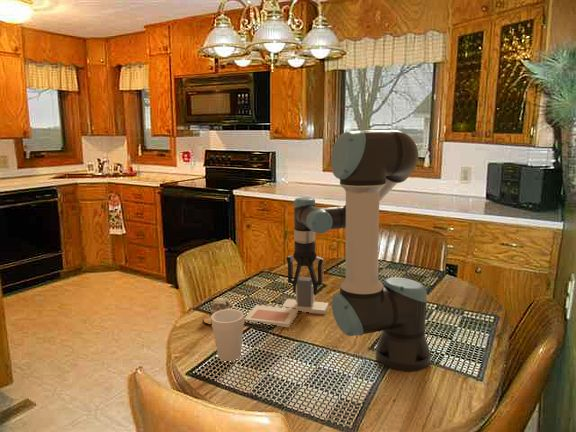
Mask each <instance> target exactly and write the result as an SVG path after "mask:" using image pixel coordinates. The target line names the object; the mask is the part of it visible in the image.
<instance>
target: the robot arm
mask: <svg viewBox="0 0 576 432" xmlns="http://www.w3.org/2000/svg"><path fill="white" fill-rule="evenodd" d="M330 156H331V157H330V168H331V169H332V170H331V172H332V174H333V176H334V177H335V178H336V179H339V185H340V187H341V188H342V189H344V191H345V204H344V205H340V206H330V207H329V206H326V207H316V206H317V205H316V200H315V198H313V197H311V196H309V197H307V196H303V197H302V196H301V197H297V198H295V199H294V201H293V223H294V224H293V226H294V227H293V228H294V229H293V231H294V233H293V234H294V235H293V237H294V238H293V239H294V253H293V254H292V255H290V254H289V255H288V256H287V257H286V262H287V282H288V283H289V284H292V292H293V294H295V300H296V302H297V280H298V278H299V277H300V273H301V270H302V267H306V268H307V269H308V271H309V275H310V276H309V277H311V279H312V283H313V285H312V286H311V304H313V303H314V302H316V298H315V297H316V296H317V294H318V286H321V285H322V284H323V279H324V278H323V263H324V261H325V258H324V257H319V256H318V255H317V254H316V241H315V240H316V233H317V234H320V235H321V234H326V233H327V232H329V231H330V230H338V229H345V278H344V279H343V280H342V281H341V282H340V284H339V292H336V293H335V294H333V295H332V298H331V311H332V315H333V317H334V320H335V323H336V324H337V327H338V328H339V330H340V332H341V333H343V334H344V335H346V336H347V337H356V336H361V337H362V336H363V335H368V334H373V333H377V332H381V334H380V337H379V338H378V342H377V344H376V347H375V357H376V359H377V361H378V362H379V363H380V364H382V365H384V366H385V367H387V368H389V369H392V370H396V371H400V372H417V371H420V370H424V369H425V368H427V367H429V365H430V362H431V352H430V348H429V345H428V341H427V338H426V317H427V315H426V314H427V303H428V298H427V295H428V294H427V288H426V287H425V285H423V284H422V283H421V282H418V281H417V280H414V279H409V278H406V277H398V276H396V277H395V276H392V277H387V278H385V279H384V281H383V282H381V281H380V280H379V249H380V248H379V247H380V246H379V245H380V244H379V240H380V239H379V235H380V234H379V230H380V202H381V201H382V200H383V199H384V198H385V196H387V194H388V193H390V192H391V190H392V189H393V188H394V187H395V186H396V185H397V184H400V183H403V182H405V181H406V180H407V179H408V178H409V177H410V176H411V175H412V173H414V171H415V169H416V167H417V165H418V162H419V149H418V147H417V144H416V142H415V140H414V139H413V138H412V137H411V136H410V135H408V134H407V133H405V132H404V131H401V130H395V129H388V130H355V131H354V130H352V131H345V132H343V133H342V134H340V135H339V136H338V137H337V138H336V141H335V142H334V144H333V147H332V151H331V155H330ZM294 260H295V262H296V263H297V264H296V270H295V273H294V272H293V271H294ZM315 261H316V263H317V276H316V272H315V268H314V262H315Z"/></svg>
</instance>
